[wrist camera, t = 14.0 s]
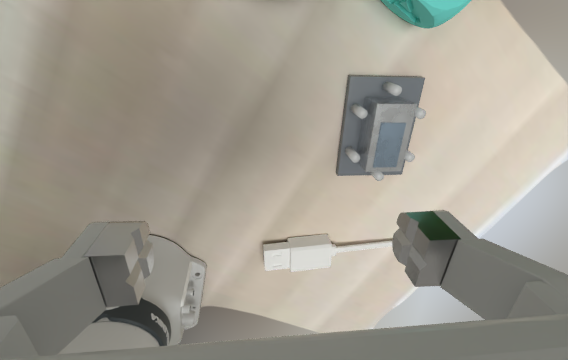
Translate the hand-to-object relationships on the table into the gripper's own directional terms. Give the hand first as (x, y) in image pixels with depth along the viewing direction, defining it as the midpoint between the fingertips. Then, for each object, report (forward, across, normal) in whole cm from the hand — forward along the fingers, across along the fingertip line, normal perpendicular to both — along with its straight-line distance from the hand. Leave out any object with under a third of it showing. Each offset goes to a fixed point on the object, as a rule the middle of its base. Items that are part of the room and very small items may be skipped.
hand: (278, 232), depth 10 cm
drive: (+30, +17, -6) cm, 35 cm away
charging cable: (+32, +16, -27) cm, 45 cm away
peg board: (+31, +17, -6) cm, 36 cm away
